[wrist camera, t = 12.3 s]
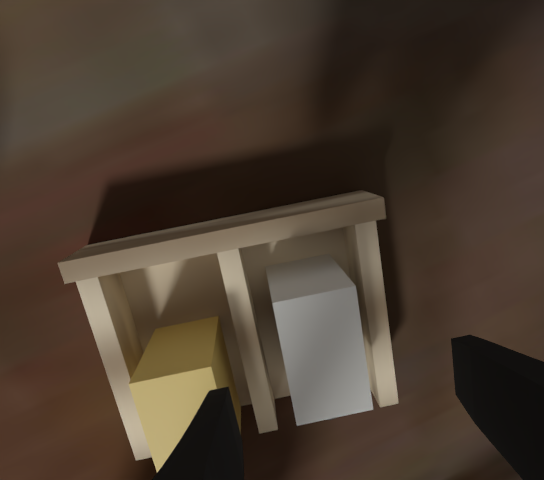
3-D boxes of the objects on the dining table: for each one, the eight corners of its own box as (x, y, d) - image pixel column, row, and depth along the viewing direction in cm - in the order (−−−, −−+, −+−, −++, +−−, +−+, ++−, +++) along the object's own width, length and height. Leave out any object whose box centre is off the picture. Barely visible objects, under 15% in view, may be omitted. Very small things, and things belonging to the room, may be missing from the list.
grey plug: (347, 374, 22) (376, 437, 17) (289, 386, 22) (302, 453, 17) (328, 253, 20) (355, 285, 15) (265, 266, 20) (272, 303, 15)
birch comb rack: (384, 366, 23) (407, 401, 20) (142, 418, 23) (126, 462, 19) (361, 190, 20) (383, 197, 17) (87, 245, 20) (57, 263, 17)
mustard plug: (246, 429, 22) (247, 506, 18) (188, 442, 22) (173, 522, 17) (218, 315, 21) (211, 366, 16) (155, 328, 21) (128, 384, 16)
